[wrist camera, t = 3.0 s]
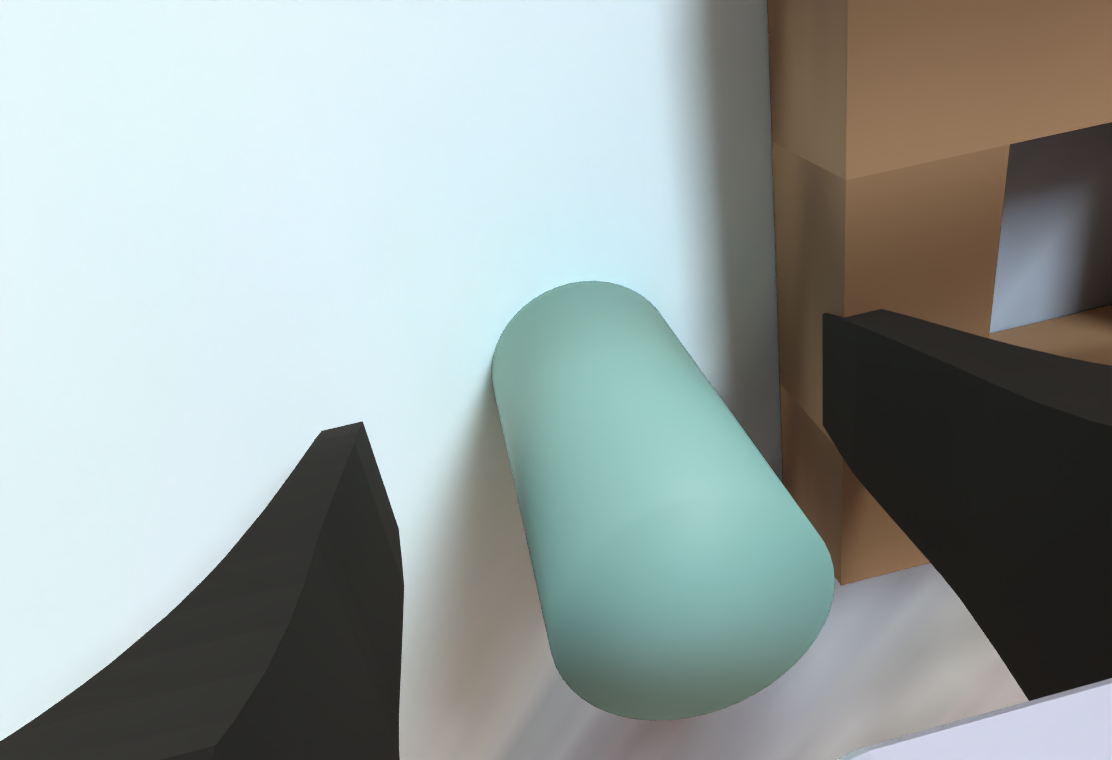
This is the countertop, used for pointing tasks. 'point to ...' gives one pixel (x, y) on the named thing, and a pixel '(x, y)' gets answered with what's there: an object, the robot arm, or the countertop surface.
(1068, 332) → the socket board
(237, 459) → the countertop surface
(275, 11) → the countertop surface
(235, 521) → the countertop surface
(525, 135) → the countertop surface
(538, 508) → the peg
